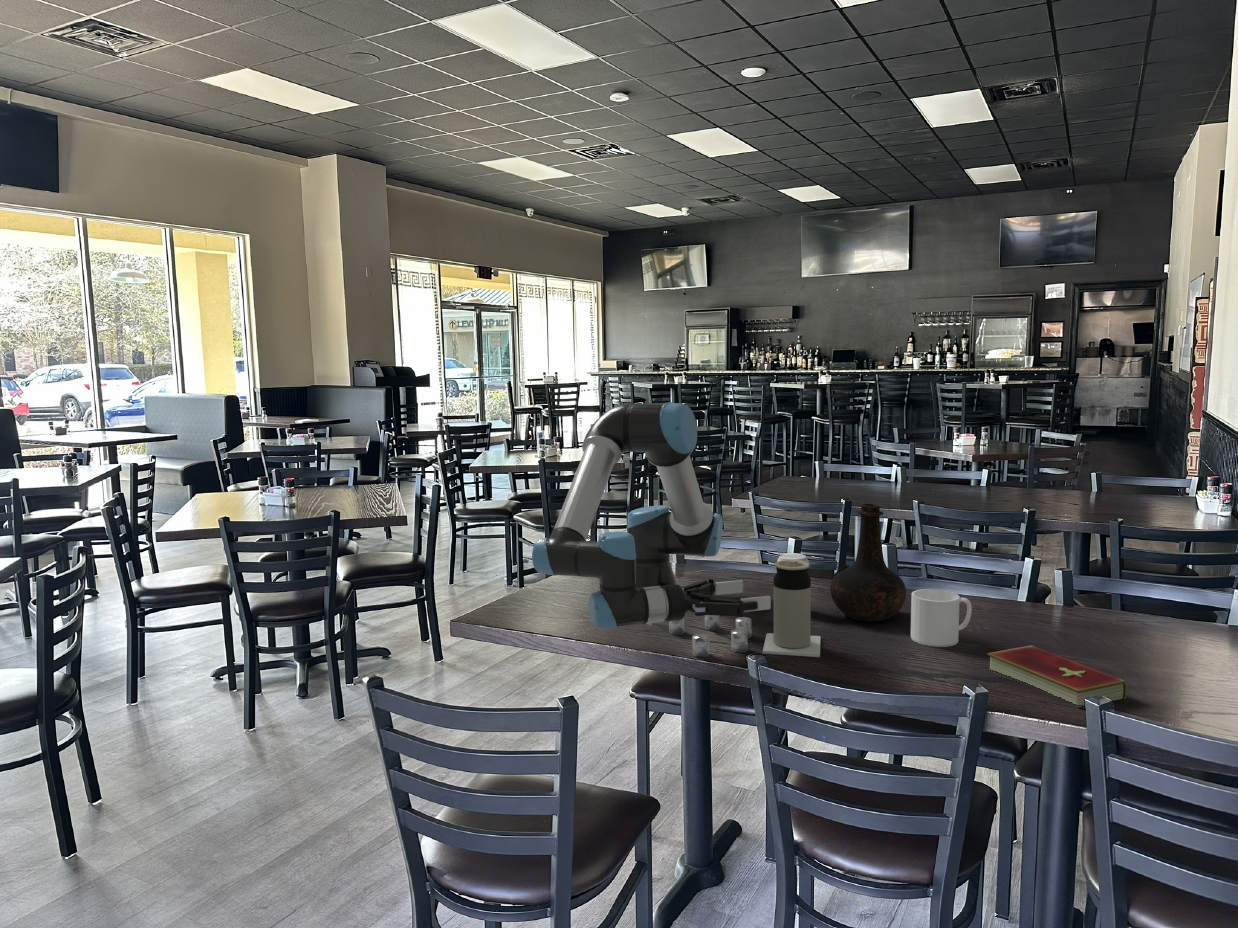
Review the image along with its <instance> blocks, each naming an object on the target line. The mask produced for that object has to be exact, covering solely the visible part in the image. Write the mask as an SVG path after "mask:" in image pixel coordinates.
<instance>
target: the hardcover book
mask: <svg viewBox="0 0 1238 928" xmlns="http://www.w3.org/2000/svg"><path fill="white" fill-rule="evenodd" d="M987 656H988V657H990V660H989V670H990V669H991V670H994V671H997V672H999V673H1002V674H1004V675H1007V676H1011V677H1012V678H1015V679H1018V680H1020V681H1023V682H1026V683H1028V684H1030V685H1033V686H1035V687H1037V688H1040V689H1042V690H1044V691H1047V692H1048V693H1051V694H1053V695H1054V696H1057V697H1061V698H1062V699H1065V700H1066V701H1069V702H1072V703H1073V704H1076V705H1083V706H1084V699H1086V698H1088V697H1092V696H1105V697H1109V699H1112V700H1113V701H1112V702H1114V701H1118V700H1126V699H1127V693H1128V684H1127V681H1126V680H1124V679H1121V678H1119V677H1116V676H1113V675H1111V674H1108V673H1106V672H1104V671H1103V672H1102V671H1100V670H1097V669H1095V668H1092V667H1089V666H1087V665H1084V664H1082V663H1079V662H1076V661H1073V660H1071V659H1069V658H1065V657H1063V656H1060V655H1058V654H1055V653H1052V652H1050V651H1047V650H1045V649H1042V648H1039V647H1036V646H1035V645H1026V646H1021V647H1015V648H1010V649H1004V650H999V651H993V652H992V651H991V652H988V653H987Z"/></svg>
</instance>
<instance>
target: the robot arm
mask: <svg viewBox="0 0 1238 928" xmlns="http://www.w3.org/2000/svg"><path fill="white" fill-rule="evenodd" d="M693 412H694V411H692V409H691V408H690V407H689V406H688V405H687V404H685V403H679V402H678V403H676V402H672V401H668V402H650V403H649V402H645V403H644V402H642V403H641V402H637V403H635V402H634V403H633V402H626V403H621V404H617V405H615V406H613V407H612V408H611V407H610V409H608V410H607V411H605V412H603V414H601V416H600V417H599V418H597V419H596V420H595V421H594V423H593V424H592V425H591V426H590V428H589V430H588V431H587V433H586V434H585V437H584V440H583V441H582V444H581V448H582V449H581V450H582V452H583V454H582V456H581V460H580V461H579V464H578V466H577V469H576V471H575V474H574V476H573V479H572V482H571V484H570V487H569V489H568V491H567V494H566V497H565V499H564V502H563V503H562V507H561V510H560V512H559V514H558V516H557V521H556V522H555V525H554V528H553V530H552V532H551V534H550V536H549V537H544V538H538V540H537V541H535V543H534V545H533V548H532V552H531V563H532V566H533V567H534V569H535V571H536V572H537V573H538V574H545V575H551V576H554V577H555V576H565V577H567V576H568V577H581V578H591V579H593V578H594V579H599V591H598V590H597V591H596V592H592V593H590V595H589V599H588V613H589V619H590V621H591V623H592V625H593V626H594V628H596V629H611V628H613V629H616V628H624V627H631V626H638V625H646V624H647V625H648V626H651V627H652V626H653V624H655V623H663V622H668V623H669V621H677V620H682V619H683V618H684V619H685V616H686V613H687V612H692V613H694V615H695V616H697V617H699V616H705V615H715V616H720V617H723V616H724V617H738V618H739V617H745V615H744V614H745V613H748V612H756V611H757V612H758V611H765V610H766V611H767V610H771V604H772V603H771V602H772V601H771V596H770V595H762V596H754V597H753V596H751V597H742V598H740V599H739V600H736V599H728V598H719V597H712V596H713V594H714V595H715V596H719V595H720V596H722V595H730V594H731V595H733V594H741V593H744V580H742V579H737V580H729V581H728V580H727V581H726V580H725V581H716V582H714V581H715V580H714V578H709V579H708V580H701V581H698V582H695V583H691V584H687V585H683V586H681V585H679V584H677V580H676V579H677V578H676V577H675V573H674V571H673V568H672V565H671V561H670V560H671V559H670V555H677V556H680V555H681V556H694V557H702V558H704V557H715V556H716V555H717V554H718V553H719V551H720V547H721V542H722V536H723V535H722V534H723V522H724V519H723V516H722V515H721V514H720V513H717V512H715V513H713V511H712V509H711V506H709V505H708V504H707V503H706V502H704V500H703V497H702V494H701V490H700V487H699V482H698V480H697V476H696V472H695V469H694V466H693V463H692V459H691V454H692V452H693V451H694V450H695V448H696V445H697V444H698V443H697V441H698V429H697V425H698V424H697V420H696V417H695V414H694V413H693ZM628 452H629V453H644V454H645V457H646V458H647V461H648V462H649V463H650V464H651V465H653V466H656V469H657V472H658V474H659V477H660V480H661V483H662V484H661V485H662V487H663V490H664V492H665V495H666V498H667V500H668V504H669V506H667V505H663V504H660V505H652V506H651V505H650V506H644V507H639V508H635V509H634V510H631V511H630V512H629V513H628V514H627V525H626V529H627V530H626V531H627V532H624V531H608V532H606V531H605V532H603V533H601V534H600V535H599V536H598V539H597V540H598V541H596V540H595V541H593V540H587V538H588V536H589V533H590V530H591V528H592V525H593V523H594V521H595V520H594V519H595V518H596V514H597V511H598V509H599V505H600V503H601V501H602V498H603V495H604V492H605V489H606V486H607V484H608V481H609V479H610V475H611V474H612V470H613V467H614V465H615V464H617V463H618V462H619V461H620V460H621V458H622V455H623V454H625V453H628ZM670 510H671V511H670Z"/></svg>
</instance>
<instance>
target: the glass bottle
mask: <svg viewBox="0 0 1238 928" xmlns="http://www.w3.org/2000/svg"><path fill="white" fill-rule="evenodd" d="M859 507H860V510H857V511H856V513H857V514H858V515H860V528H859V535H858V537H859V538H858V546H857V552H856V556H855V561H854V563H853V564H852V565H849V566H848V565H847V564H844V565H843V566H842V567H840V568H838V570H836V572H834V573H833V574H832V576H831V577H832V579H831V582H830V589H829V590H830V596H831V598H832V600H833V603H834V604H835V606H836V607H837V608H838V610H839V611H840V612H842V613H843V614H844V615H845V616H847V617H848V618H850V619H853V620H856V621H858V622H869V623H872V622H874V623H875V622H883V621H885V620H888V619H890V618H892V617H893V616H895V615H896V614H897V613H899V611H900V610H901V609H902V608H903V606H904V604H905V602H906V599H907V587H906V585H905V582H904V581H903V579H902V577H900V575H899V574H897V573H896V572H895V571H893V570H891V569H890V568H889V567H888V566H887V565H886V562H885V560H884V554H883V547H882V535H881V521H880V519H881V518H880V516H883V515H884V514H885V513H884V511H880V510H881V509H880V508H881V505H878V504H875V503H863V504H860V505H859Z"/></svg>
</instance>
